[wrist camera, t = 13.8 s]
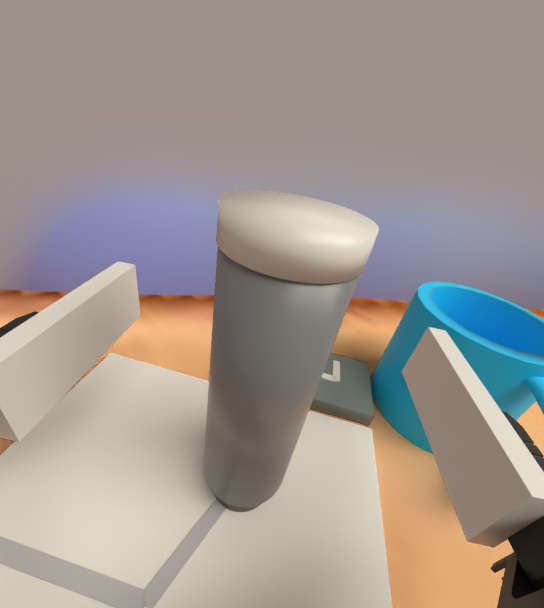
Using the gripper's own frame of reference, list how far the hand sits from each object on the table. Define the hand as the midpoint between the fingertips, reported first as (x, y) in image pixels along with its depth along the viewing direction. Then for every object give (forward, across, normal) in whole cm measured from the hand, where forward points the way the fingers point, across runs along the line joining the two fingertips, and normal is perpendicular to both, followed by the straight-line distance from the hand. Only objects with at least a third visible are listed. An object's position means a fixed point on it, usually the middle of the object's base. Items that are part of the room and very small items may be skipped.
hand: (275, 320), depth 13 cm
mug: (+3, +13, -8) cm, 15 cm away
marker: (-3, 0, -7) cm, 8 cm away
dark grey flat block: (+4, +3, -8) cm, 9 cm away
